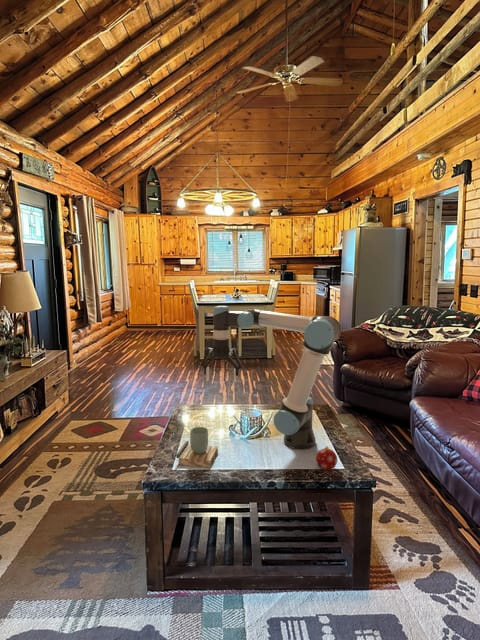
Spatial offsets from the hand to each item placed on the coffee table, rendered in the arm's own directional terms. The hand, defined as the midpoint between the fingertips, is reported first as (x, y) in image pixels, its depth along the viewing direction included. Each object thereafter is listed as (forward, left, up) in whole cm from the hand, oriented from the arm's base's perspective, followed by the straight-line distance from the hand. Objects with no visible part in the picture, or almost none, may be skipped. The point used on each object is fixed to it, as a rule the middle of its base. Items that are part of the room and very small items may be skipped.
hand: (221, 381), depth 198 cm
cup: (+5, +23, -26) cm, 35 cm away
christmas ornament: (-50, +22, -29) cm, 62 cm away
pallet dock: (+5, +23, -29) cm, 37 cm away
